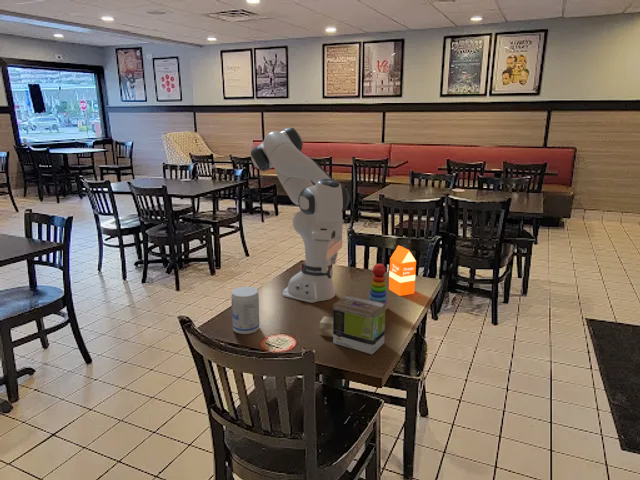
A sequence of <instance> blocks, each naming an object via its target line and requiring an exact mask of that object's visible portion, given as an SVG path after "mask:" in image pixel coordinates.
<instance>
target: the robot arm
mask: <svg viewBox="0 0 640 480" xmlns="http://www.w3.org/2000/svg"><path fill="white" fill-rule="evenodd" d="M303 145H304V144H303V138H302V135H301V134H300V132H298V131H297V130H296V129H295V128H294V127H287V128H284V129H283V130H281V131H278V130H276V131H275V130H274V131H271V132H269V133H268V134H266V136H265V137H264V138H263V141H262V142H261V143H260V144H258V145H257V146H254V147H253V148H252V149H251V151H250V159H251V162H252V164H253V166H254V167H255V168H257V169H258V170H260V172H261V171H262V172H266V171H269V170H271V169H272V168H273V169H274V171H275V174H276V176H277V178H278V180H279V182H280V185H281V186H282V187H283V190H284V191H285V192H286V194H287V195H288V197H289V199H290V200H291V202H292V203H293V204H295V205H296V206H298V207H299V211H298V212H296V213H295V214H294V216H293V218H292V226H293V228H294V231H295V232H296V233H297V234H298V235H300V237H301V239H302V241H303V244H304V254H305V255H304V256H305V257H304V258H305V260H303V262H302V263H301V265H299V270H300V271H299V272H298V273H296V274H294V275H293V276H292V277H291V278H290V279H289V281H288V284H287V285H288V286H286V287H285V288H284V289H283V291H282V296H283V297H285V298H290V299H293V300H299V301H302V302H307V303H312V304H313V303H314V304H315V303H317V302H322V301H327V300H331V299H333V298H334V297H335V296H336V292H335V289H334V288H335V287H334V284H333V273H334V269H333V268H334V267H333V265H336V264H337V260H338V254H339V253H338V252H339V251H340V250H341V249H342V247H343V212H344V211H345V210H346V209H347V208H348V206H349V204H350V193H349V191H348V190H347V188H346V187H345V186H344V185H343V184H341V183H340V182H339V181H338V180H335V179H334V178H333V177H332V176H331V175H330V174H329V173H328V172H327V171H326V170H325V169H324V168H323V167H322V166H321V165H320V163H319V164H318V162H316V161H315V160H313V159H312V158H310V157H308V156H307V155H306V154H304V153H303V152H302V150H303ZM313 183H314V184H313Z"/></svg>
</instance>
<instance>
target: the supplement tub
mask: <svg viewBox="0 0 640 480" xmlns="http://www.w3.org/2000/svg"><path fill="white" fill-rule="evenodd" d="M259 296H260V295H259V289H257V288H255V287H252V286H240V287H236V288H235V289H232V291H231V296H230V298H231V318H232V321H231V322H232V330H233V332H235V333H237V334H240V335H249V334H254V333H256V332H257V331H258V330H259V328H260V306H259V305H260V304H259V303H260V301H259V300H260V299H259V298H260V297H259Z"/></svg>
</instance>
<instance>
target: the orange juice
mask: <svg viewBox="0 0 640 480" xmlns="http://www.w3.org/2000/svg"><path fill="white" fill-rule="evenodd" d="M416 266H417V260H416V259H415V257H414V256H413V254H412V252H411V251H410V249H407V248H405V247H404V246H401V245H399V244H398V245H397V246H396V249H395V250H394V252H393V253H392V255H391V257H389V275H388V290H389V291H391V292H392V293H394V294H396V295H398V296H399V297H402V296H407V295H412V294H415V289H416V274H417V273H416V272H417V271H416V269H417V267H416Z"/></svg>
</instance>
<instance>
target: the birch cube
mask: <svg viewBox="0 0 640 480" xmlns="http://www.w3.org/2000/svg"><path fill="white" fill-rule="evenodd" d="M319 335H320V336H323V337H324V336H325V337H330V338H331V337H332V338H333V317H331V316H325V315H324V316H323V317H322V319H321V320H320V322H319Z"/></svg>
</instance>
